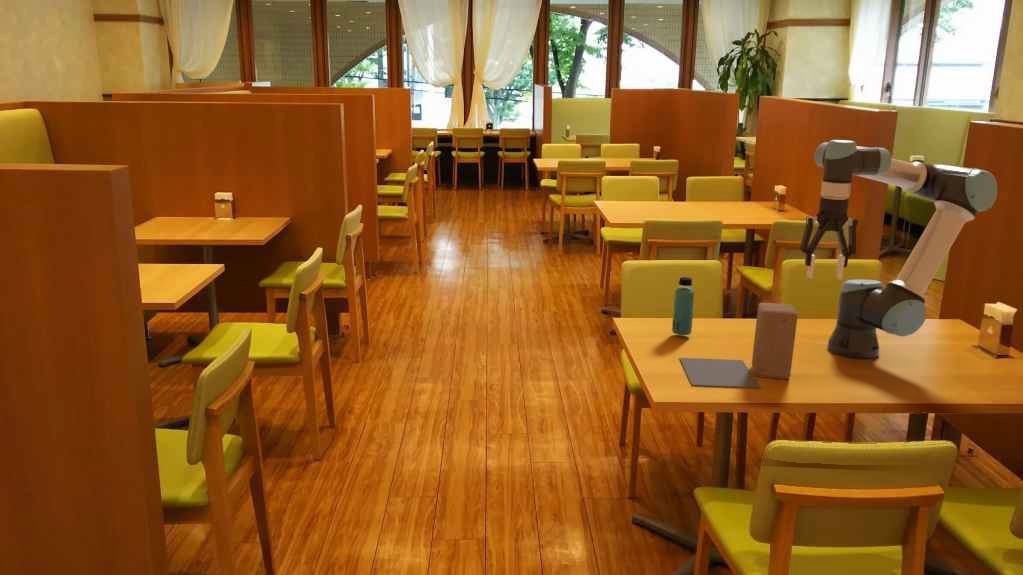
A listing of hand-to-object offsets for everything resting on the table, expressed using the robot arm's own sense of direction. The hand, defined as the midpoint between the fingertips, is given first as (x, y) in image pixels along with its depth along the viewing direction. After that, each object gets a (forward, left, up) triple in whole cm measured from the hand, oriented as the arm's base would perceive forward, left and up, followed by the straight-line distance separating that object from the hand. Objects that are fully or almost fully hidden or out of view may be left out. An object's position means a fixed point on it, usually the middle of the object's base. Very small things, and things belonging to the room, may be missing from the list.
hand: (824, 277), depth 231 cm
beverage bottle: (+33, -31, -29) cm, 54 cm away
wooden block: (+12, 0, -29) cm, 32 cm away
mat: (+28, +2, -29) cm, 40 cm away
